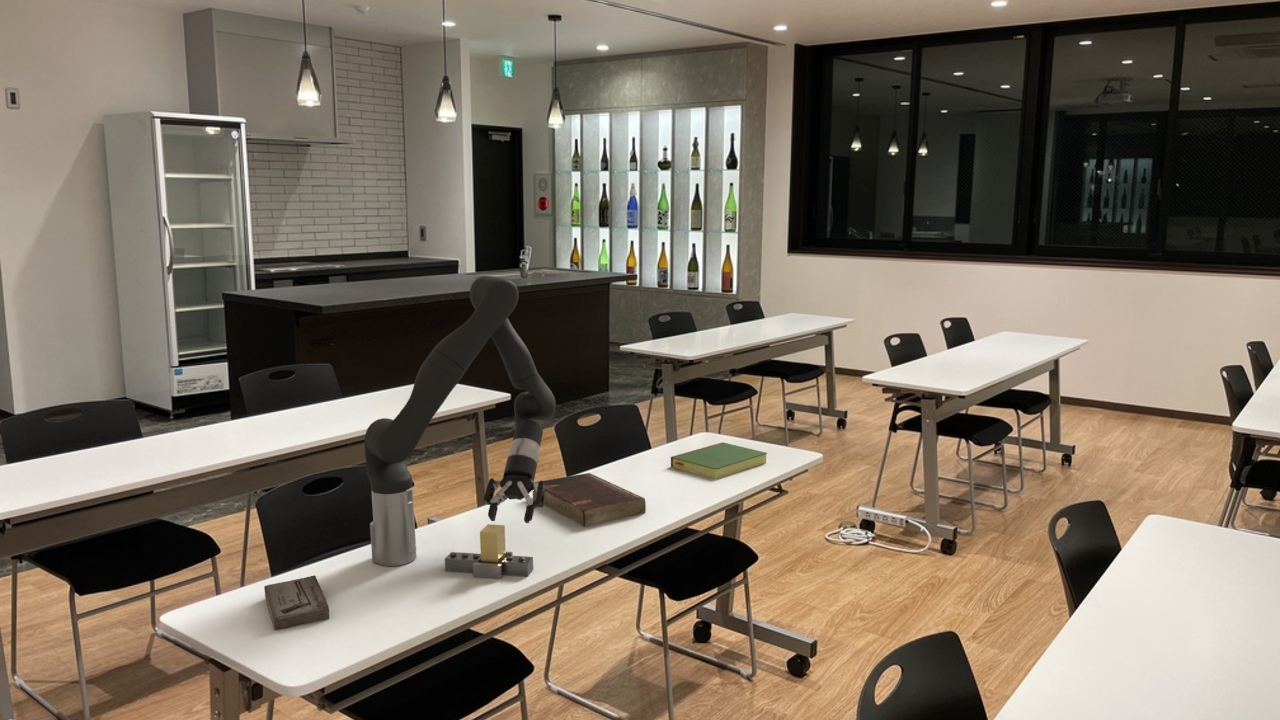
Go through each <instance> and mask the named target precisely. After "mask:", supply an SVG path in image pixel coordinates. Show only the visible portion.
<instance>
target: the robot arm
mask: <svg viewBox="0 0 1280 720" xmlns="http://www.w3.org/2000/svg"><path fill="white" fill-rule="evenodd" d="M519 297H520V296H519V289H518V286H517V285H516V284H515V283H514V282H513V281H511V280H509V279H506V278H503V277H497V276H491V275H482V276H480V277H478V278H476V279H475V280H474V281H473V282H472V284H471V285H470V288H469V299H470V300H469V301H470V302H471V304H472V306H473V308H474V311H473V313H472V314H471V316H470V317H469V318H468V319H467V320H466V321H465V322H464V323H463V324H462V325H460V326H459V327H457V329H455V330H453V331H452V332H450V333H449V334H448V335H446V336H445V337H444V338H443V339H441V340H440V341H439V342H438V343H437V344H436V345H435V346H434V347H433V349H432V350H431V352H430V353H429V354H428V355H427V357H426V359H425V360H424V361H423V362H422V364H421V366H420V367H419V369H418V372H417V374H416V377H415V380H414V384H413V387H412V391H411V393H410V396H409V399H408V400H407V401H406V403H405V404H404V406H403V407H402V409H401V410H400V411H399V413H398V414H397V415H396V417H394V419H392V418H386V417H384V418H383V417H382V418H378V419H377V420H374V421H373V422H371V424H369V426H368V427H367V429H366V431H365V435H364V454H365V455H364V457H365V466H366V474H367V478H368V481H369V482H370V489H371V491H370V492H371V504H372V505H371V507H372V518H373V520H372V521H371V522H370V523H369V530H370V532H369V533H370V548H371V561H372V563H376V564H377V565H381V566H386V567H387V566H388V567H394V566H402V565H406V564H409V563H411V562H414V560H416V559H417V545H416V542H417V541H416V530H415V529H416V525H415V524H416V523H415V509H414V507H415V506H414V505H415V504H414V492H413V477H412V475H411V473H410V471H409V469H408V467H407V464H406V460H407V459H408V458H409V457H410V456H411V455H412V453H413V452H414V450H415V449H416V447H417V445H418V444H419V442H420V440H421V438H422V437H423V435H424V433H425V431H426V429H427V428H428V426H429V424H431V423H430V422H431V421H432V420H433V418H434V416H435V415H436V414H437V412H438V411H439V410H440V408H441V406H442V405H443V404H444V403H445V401H446V400H447V398H448V397H449V395H450V394H451V392H452V391H453V389H455V388H456V386H457V385H458V384H459V382H460V380H461V379H462V378H463V377H464V375H465V373H466V372H467V370H468V369H469V368H470V366H471V365H472V363H473V362H474V360H475V359H476V358H477V356H478V355H479V354H480V352H481V350H482V349H483V347H484V346H485V345H486V344H487V343H488V341H489V339H490V338H491V339H492V340H493V343H494V344H495V347H496V349H497V351H498V353H499V356H500V357H501V360H502V362H503V365H504V367H505V370H506V372H507V374H508V377H509V380H510V382H511V384H512V386H513V388H514V389H516V390H521V391H524V392H520V393H519V394H518V395H517V396H516V397H515V399H514V401H513V409H514V410H513V411H514V428H515V429H514V433H513V436H512V441H511V445H510V447H509V449H508V452H507V453H508V454H507V459H506V462H505V467H504V472H503V477H502V479H501V480H495V479H494V478H490V479H488V483H487V486H486V490H485V492H484V496H483V500H484V502H485V503H486V505H488V506H489V508H488V512H487V517H488V518H489V520H490V521H491V522H495V521H496V517H497V513H498V509H499V508H498V507H499V505H501V504H502V503H504V502H505V501H506V500H507V499H508V500H517V501H522V500H523V499H524V500H525V501H526V503H527V504H528V505H526V508H525V513H524V517H523V520H524V522H525V524H529V523H530V522H531V521H532V520H533V516H534V511H535V509H536V508H543V507H544V504H543V502H544V495H545V488H546V487H545V485H544V483H543V481H544V480H539V481H538V482H539V483H534V482H535V477H536V473H537V467H538V464H539V457H540V447H541V444H542V439H543V433H544V430H543V425H541V424H540V423H538V422H537V421H534V420H533V419H539V418H540V419H543V418H548V417H551V416H552V415H553V414H554V413H555V411H556V407H557V403H556V398H555V396H554V394H553V392H552V390H551V388H550V387H549V386H548V385H547V384H546V382H545V381H544V379H543V378H542V376H540V374H539V372H538V369H537V367H536V365H535V363H534V360H533V358H532V355H531V353H530V351H529V349H528V348H527V345H526V344H525V342H524V341H523V340H522V338H521V337H520V336H519V334H518V333H517V332H516V329H515V328H514V327H513V325H512V323H511V322H510V319H509V317H510V315H511V314H512V313H513V312H514V310H515V308H516V307H517V305H518V302H519ZM531 419H532V420H531ZM499 487H500V489H499ZM534 488H535V489H536V491H537V496H536V500H535V499H534V500H533V498H532V497H531V496H530V493H531V492H533V489H534ZM498 489H499V490H498ZM497 490H498V491H497ZM495 492H496V494H495ZM494 494H495V495H494Z"/></svg>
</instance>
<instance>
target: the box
mask: <svg viewBox="0 0 1280 720" xmlns="http://www.w3.org/2000/svg"><path fill="white" fill-rule="evenodd" d="M263 587H264V596H265V602H266V606H267V609H268V613H269V615H270V620H271V622H272V626H273V630H274V631H281V630H285V629H289V628H292V627H297V626H302V625H303V626H304V625H307V624H312V623H317V622H322V621H328V620H330V606H329V604H328V601H327V599H326V597H325V594H324V593H323V592H324V591H323V590H322V588H321V585H320V583H319V580H318V578H317V576H316V575H309V576H306V577H300V578H296V579H291V580H287V581H282V582H276V583H272V584H266V585H265V586H263Z"/></svg>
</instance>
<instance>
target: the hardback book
mask: <svg viewBox="0 0 1280 720" xmlns="http://www.w3.org/2000/svg"><path fill="white" fill-rule="evenodd" d="M542 481H543V483H544V485H545V487H546V488H545V495H544V502H543V506H546V507H548V508H550V509H551V510H553V511H556V512H557V513H559V514H560V515H561V516H564V517H566V518H567V519H569V520H571V521H572V522H575V523H577V524H578V525H581V526H582V527H584V528H587V527H591V526H594V525H595V526H596V525H600V524H604V523H608V522H613V521H617V520H621V519H626V518H630V517H634V516H638V515H644V514H646V511H647V509H646V505H647V504H646V500H645V497H643V496H641V495H639V494H637V493H634V492H632V491H630V490H627V489H625V488H623V487H622V486H621V487H620V486H619V485H616V484H614V483H612V482H610V481H607V480H606V479H604V478H601V477H599V476H597V475H595V474H592V473H590V472H588V473H586V472H585V473H582V474H575V475H569V476H563V477H558V478H552V479H548V480H547V479H546V480H545V479H544V480H542ZM534 483H539V481H534ZM533 490H534V491H533ZM533 490H532V500H533V499H534V501H535V500H536V496H537V491H536V489H535V488H534V489H533Z"/></svg>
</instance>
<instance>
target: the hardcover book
mask: <svg viewBox="0 0 1280 720" xmlns="http://www.w3.org/2000/svg"><path fill="white" fill-rule="evenodd" d="M767 454H768V452H765V451H761V450H756V449H754V448H753V449H752V448H749V447H744V446H739V445H736V444H731V443H727V442H719V443H715V444H713V445H712V444H711V445H708V446H705V447H701V448H698V449H693V450H691V451H686V452H683V453H680V454H676V455H673V456H670V467H671V468H675V469H678V470H682V471H685V472H689V473H693V474H697V475H700V476H703V477H708V478H711V479H715V480H717V479H719V478H722V477H725V476H729V475H733V474H735V473H738V472H741V471H742V472H743V471H744V470H748V469H751V468H754V467H757V466H761V465H763V464H766V463H767Z"/></svg>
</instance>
